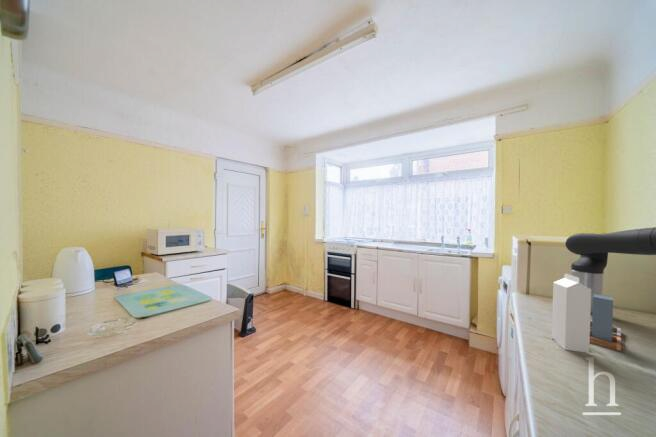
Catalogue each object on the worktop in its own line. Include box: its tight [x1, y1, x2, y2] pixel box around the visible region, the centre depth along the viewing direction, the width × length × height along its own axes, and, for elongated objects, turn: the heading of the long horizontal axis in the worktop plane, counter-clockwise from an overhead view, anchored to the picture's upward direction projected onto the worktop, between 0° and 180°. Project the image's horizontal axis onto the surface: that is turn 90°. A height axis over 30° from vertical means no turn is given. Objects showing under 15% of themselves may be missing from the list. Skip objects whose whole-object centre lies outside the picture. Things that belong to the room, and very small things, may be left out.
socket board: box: [589, 320, 626, 354], centre depth 77 cm, size 19×9×2 cm, turn 129°
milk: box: [551, 273, 591, 353], centre depth 73 cm, size 6×6×22 cm
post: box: [591, 294, 614, 343], centre depth 74 cm, size 4×4×14 cm
